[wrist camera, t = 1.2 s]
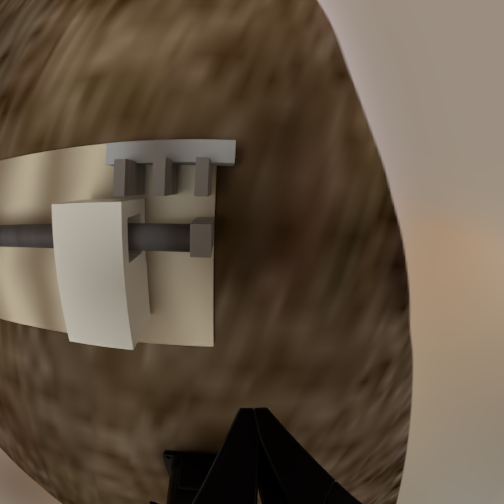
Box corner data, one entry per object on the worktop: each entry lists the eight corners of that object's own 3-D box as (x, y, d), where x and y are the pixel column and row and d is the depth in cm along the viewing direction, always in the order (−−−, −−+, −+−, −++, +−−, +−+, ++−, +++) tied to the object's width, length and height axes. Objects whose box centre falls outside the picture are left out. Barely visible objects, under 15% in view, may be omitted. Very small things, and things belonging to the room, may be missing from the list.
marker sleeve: (145, 197, 15) (121, 201, 11) (150, 317, 17) (133, 349, 13) (86, 199, 15) (51, 204, 11) (95, 312, 17) (69, 341, 13)
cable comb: (234, 142, 16) (237, 125, 12) (228, 343, 19) (229, 383, 14) (-38, 172, 14) (-71, 174, 9) (-24, 309, 16) (-51, 327, 12)
